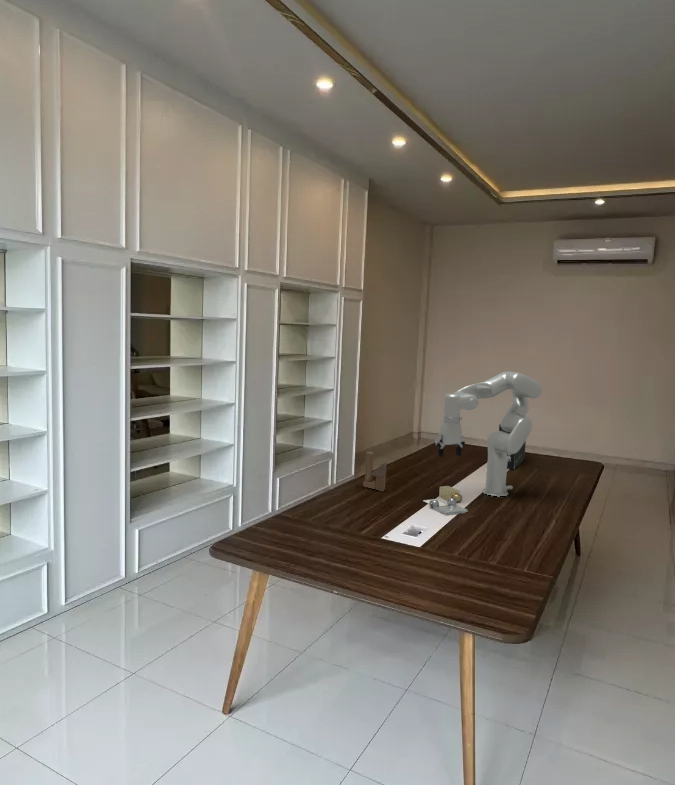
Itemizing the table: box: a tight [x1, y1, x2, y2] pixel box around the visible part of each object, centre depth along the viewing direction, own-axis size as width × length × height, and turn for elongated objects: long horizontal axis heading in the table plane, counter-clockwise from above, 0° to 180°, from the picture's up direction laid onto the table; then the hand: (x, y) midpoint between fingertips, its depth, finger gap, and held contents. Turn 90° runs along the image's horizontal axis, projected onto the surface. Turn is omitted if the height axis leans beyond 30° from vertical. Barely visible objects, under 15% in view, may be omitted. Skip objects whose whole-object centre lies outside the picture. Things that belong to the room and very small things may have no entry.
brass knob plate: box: [438, 485, 463, 503], centre depth 273 cm, size 5×12×5 cm, turn 26°
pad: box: [422, 498, 448, 507], centre depth 266 cm, size 7×10×1 cm
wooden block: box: [362, 451, 388, 492], centre depth 284 cm, size 4×11×18 cm, turn 56°
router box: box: [498, 423, 527, 470], centre depth 355 cm, size 36×11×27 cm, turn 152°
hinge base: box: [428, 498, 469, 516], centre depth 256 cm, size 14×12×4 cm
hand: (449, 456), depth 271 cm, fingers open, 9 cm apart
